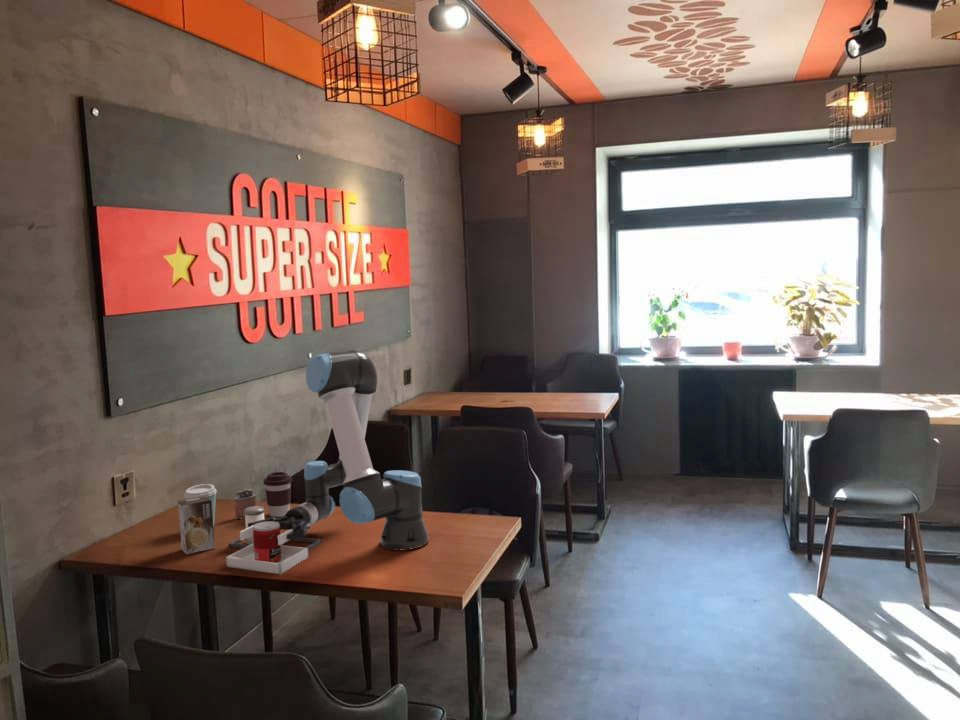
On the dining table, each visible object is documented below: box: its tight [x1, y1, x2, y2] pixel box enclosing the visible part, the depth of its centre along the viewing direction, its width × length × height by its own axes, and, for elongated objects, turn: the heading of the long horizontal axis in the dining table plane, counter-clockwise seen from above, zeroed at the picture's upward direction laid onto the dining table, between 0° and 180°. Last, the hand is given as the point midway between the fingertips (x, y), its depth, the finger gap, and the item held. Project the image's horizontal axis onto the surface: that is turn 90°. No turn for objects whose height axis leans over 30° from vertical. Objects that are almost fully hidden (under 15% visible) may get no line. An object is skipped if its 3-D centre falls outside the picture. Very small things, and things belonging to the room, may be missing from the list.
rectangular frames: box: [228, 536, 323, 552], centre depth 256 cm, size 27×12×1 cm, turn 68°
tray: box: [225, 543, 309, 575], centre depth 240 cm, size 19×14×3 cm
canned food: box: [253, 521, 281, 563], centre depth 240 cm, size 8×8×11 cm
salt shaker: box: [244, 505, 265, 545], centre depth 258 cm, size 6×6×11 cm
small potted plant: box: [233, 488, 257, 519], centre depth 287 cm, size 8×3×10 cm, turn 130°
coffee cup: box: [263, 471, 293, 518], centre depth 288 cm, size 10×10×15 cm
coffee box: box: [177, 496, 216, 555], centre depth 253 cm, size 9×6×16 cm
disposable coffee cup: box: [183, 483, 218, 527], centre depth 272 cm, size 11×11×15 cm
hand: (259, 538), depth 237 cm, fingers open, 13 cm apart
